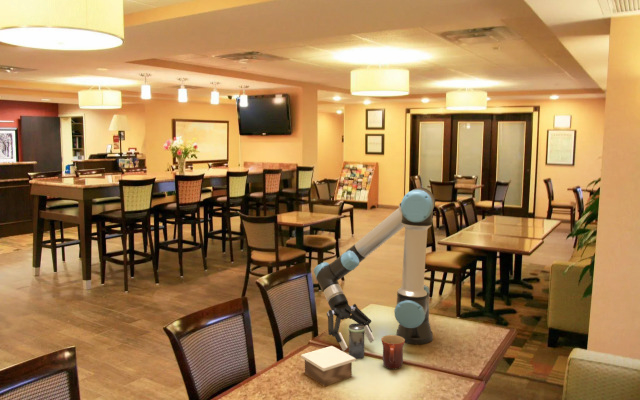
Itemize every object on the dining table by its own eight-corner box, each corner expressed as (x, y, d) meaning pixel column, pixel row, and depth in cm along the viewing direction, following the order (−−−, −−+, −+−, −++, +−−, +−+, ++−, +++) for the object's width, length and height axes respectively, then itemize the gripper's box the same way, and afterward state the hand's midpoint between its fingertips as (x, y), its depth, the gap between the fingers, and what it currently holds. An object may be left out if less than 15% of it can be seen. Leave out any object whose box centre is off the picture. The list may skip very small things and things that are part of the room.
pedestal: (331, 363, 194) (331, 345, 193) (355, 377, 183) (355, 358, 182) (300, 373, 186) (300, 354, 185) (323, 388, 175) (323, 368, 174)
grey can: (357, 351, 205) (357, 322, 204) (367, 356, 200) (368, 326, 199) (345, 355, 202) (345, 325, 200) (355, 360, 197) (355, 330, 195)
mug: (381, 360, 197) (382, 334, 196) (405, 362, 195) (405, 335, 194) (379, 373, 185) (379, 346, 184) (403, 376, 184) (404, 348, 182)
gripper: (355, 297, 219) (378, 342, 208) (306, 308, 205) (329, 357, 194) (363, 288, 214) (387, 333, 204) (314, 298, 200) (337, 348, 189)
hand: (359, 345), depth 199 cm, fingers open, 13 cm apart
